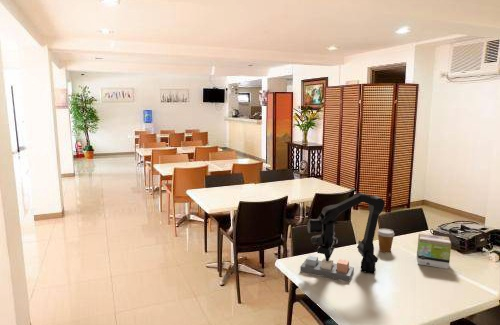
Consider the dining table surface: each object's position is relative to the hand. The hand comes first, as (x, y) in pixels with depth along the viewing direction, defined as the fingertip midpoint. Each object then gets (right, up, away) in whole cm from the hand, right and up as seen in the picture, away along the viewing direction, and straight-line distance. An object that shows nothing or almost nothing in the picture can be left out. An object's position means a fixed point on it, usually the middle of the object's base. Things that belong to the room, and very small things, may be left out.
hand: (327, 260), depth 180 cm
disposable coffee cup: (+41, -2, +29) cm, 50 cm away
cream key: (0, -5, +1) cm, 5 cm away
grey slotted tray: (0, -6, +1) cm, 6 cm away
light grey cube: (-7, -4, +4) cm, 10 cm away
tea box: (+60, -5, +11) cm, 61 cm away
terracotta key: (+7, -4, -3) cm, 9 cm away
